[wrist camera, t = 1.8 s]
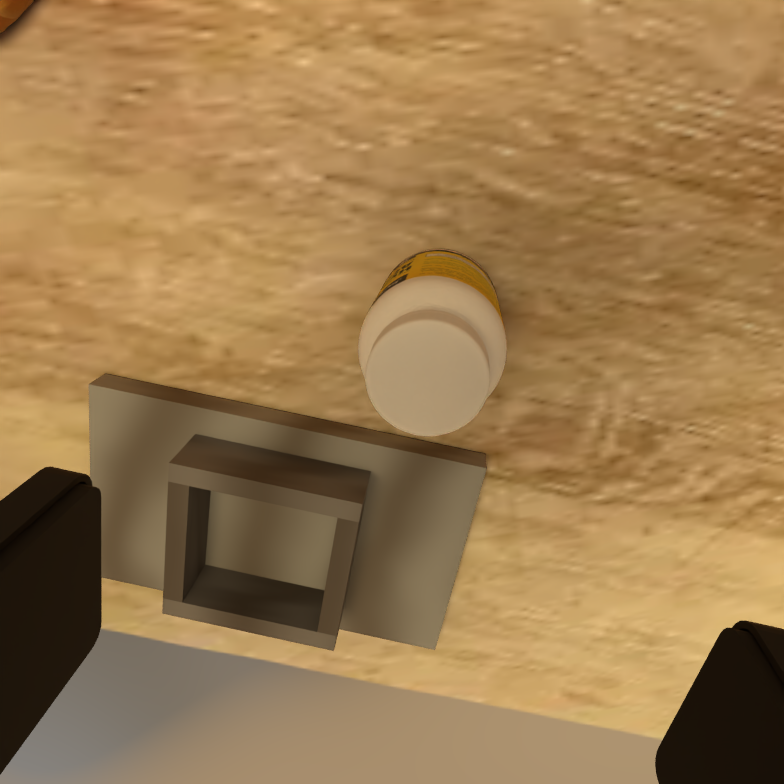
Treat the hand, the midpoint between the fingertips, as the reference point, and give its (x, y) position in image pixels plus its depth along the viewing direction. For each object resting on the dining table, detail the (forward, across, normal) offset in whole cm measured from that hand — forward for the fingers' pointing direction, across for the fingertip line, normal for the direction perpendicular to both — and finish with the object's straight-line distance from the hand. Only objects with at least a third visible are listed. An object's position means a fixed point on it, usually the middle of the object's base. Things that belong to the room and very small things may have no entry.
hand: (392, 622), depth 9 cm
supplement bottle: (+20, 0, 0) cm, 21 cm away
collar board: (+20, +6, +13) cm, 25 cm away
